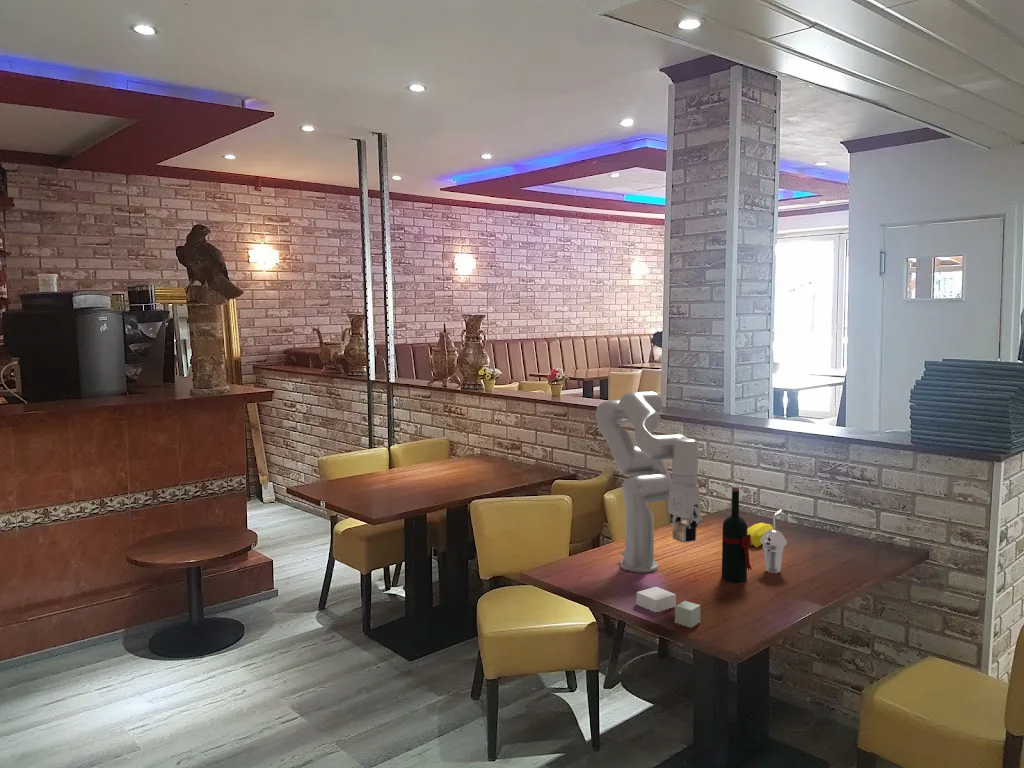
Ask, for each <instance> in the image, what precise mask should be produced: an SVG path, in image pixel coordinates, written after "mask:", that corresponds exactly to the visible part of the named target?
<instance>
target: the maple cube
mask: <svg viewBox="0 0 1024 768" xmlns="http://www.w3.org/2000/svg"><path fill="white" fill-rule="evenodd" d="M691 523H692V521H691ZM686 528H688V527H687V521H686V519H684V520H682V521H679V522H672V539H673V540H675V541H678V542H680V543H682V544H684V543H690V542H691V543H692V541H689V542H687V541H686ZM694 541H695V542H696V541H697V532H696V533H695V540H694ZM694 541H693V542H694Z"/></svg>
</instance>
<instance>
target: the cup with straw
mask: <svg viewBox="0 0 1024 768" xmlns="http://www.w3.org/2000/svg"><path fill="white" fill-rule="evenodd" d="M783 512H784V509H783V508H781V509H779V510H778V511H777V512H776V513H774V514H773V515H772V527H773V530H768V531H766V532H765V533H764V535H763V537H762V538H761V540H760V542H761V543H762V549H763V554H764V567H765V572H767V571H768V573H770V572H771V573H770V574H779V573H781V568H782V564H783V563H782V562H783V555H784V550H785V547H786V546H787V544H788V541H787V539H786V538H785V536H784V535H783V533H782V532H781V531H779V530H777V529H776V517H777V515H779V514H781V513H783ZM778 572H779V573H778Z"/></svg>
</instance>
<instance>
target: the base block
mask: <svg viewBox="0 0 1024 768" xmlns="http://www.w3.org/2000/svg"><path fill="white" fill-rule="evenodd" d="M636 605H637V606H639V607H641V608H643V607H644V609H646V610H648V609H649V610H648V611H650V610H651V612H653V611H654V612H653V613H655V612H658V613H661V612H663V611H662V610H664V611H666V609H668V610H670V609H669V608H671V609H674V608H675V606H676V605H677V594H676V593H673V592H671V591H668V590H666V589H664V588H661V587H658V586H653V587H650V588H646V589H643V590H639V591H636ZM673 607H674V608H673ZM660 611H661V612H660Z"/></svg>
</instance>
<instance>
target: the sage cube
mask: <svg viewBox="0 0 1024 768" xmlns="http://www.w3.org/2000/svg"><path fill="white" fill-rule="evenodd" d="M676 623H679V624H678V625H680V624H681V625H680V626H683V625H684V626H683V627H686V626H687V628H689V627H690V628H689V629H692V628H694V627H696V626H697V625H698V623H699V624H700V623H701V604H697V603H695V602H691V601H687V600H683V601H681V602H680V603H678V604H677V603H676V606H675V607H674V624H676Z"/></svg>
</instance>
